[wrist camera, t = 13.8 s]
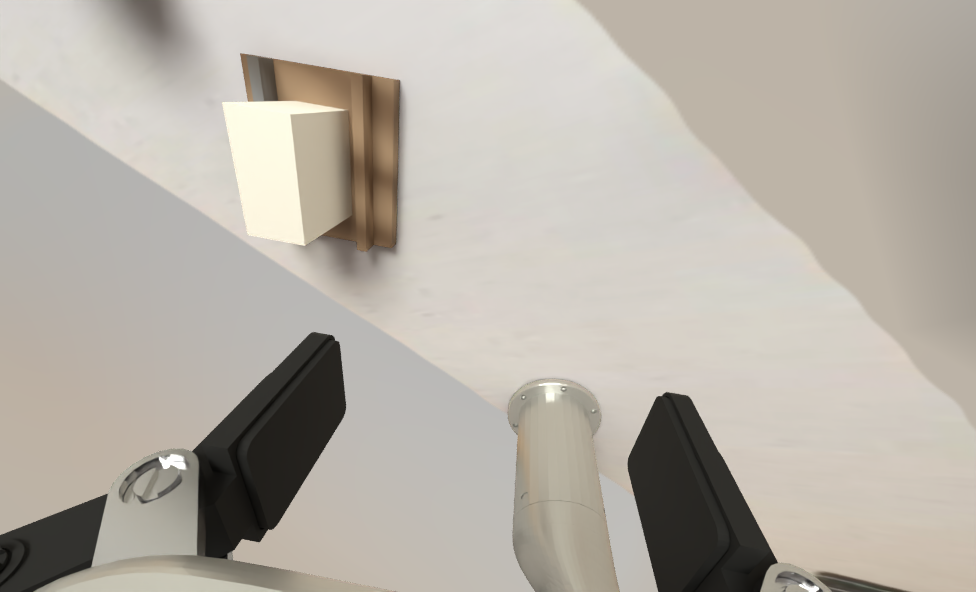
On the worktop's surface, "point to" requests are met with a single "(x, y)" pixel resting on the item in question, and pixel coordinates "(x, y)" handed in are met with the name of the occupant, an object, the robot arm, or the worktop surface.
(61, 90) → the worktop surface
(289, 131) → the box
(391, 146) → the shelf
